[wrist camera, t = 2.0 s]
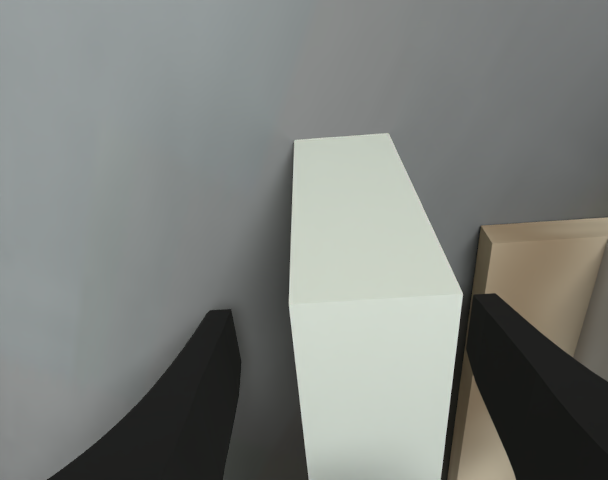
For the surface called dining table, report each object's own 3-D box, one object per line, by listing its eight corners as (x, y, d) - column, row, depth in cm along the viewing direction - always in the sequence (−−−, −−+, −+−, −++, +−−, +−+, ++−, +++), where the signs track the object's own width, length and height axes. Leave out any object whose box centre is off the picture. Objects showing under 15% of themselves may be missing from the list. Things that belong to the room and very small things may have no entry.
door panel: (387, 132, 13) (462, 293, 7) (383, 392, 18) (424, 612, 12) (294, 139, 13) (288, 304, 7) (316, 395, 18) (324, 616, 12)
